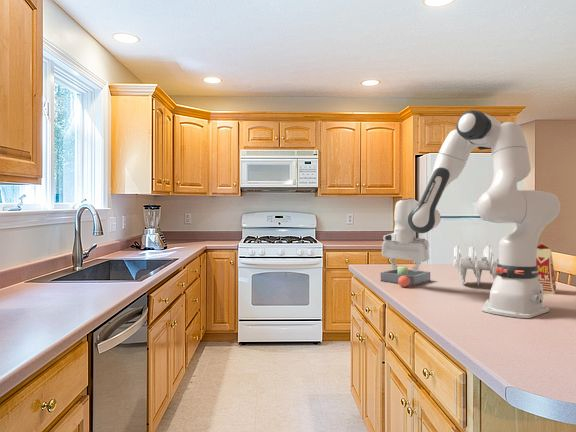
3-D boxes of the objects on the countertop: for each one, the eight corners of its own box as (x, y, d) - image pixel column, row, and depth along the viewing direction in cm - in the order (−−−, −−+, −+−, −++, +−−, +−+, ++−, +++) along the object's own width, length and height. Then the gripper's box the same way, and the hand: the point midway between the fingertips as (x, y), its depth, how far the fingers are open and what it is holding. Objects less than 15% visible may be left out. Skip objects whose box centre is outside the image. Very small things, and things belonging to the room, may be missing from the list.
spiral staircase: (518, 299, 168) (452, 292, 177) (512, 274, 183) (452, 268, 191) (525, 261, 160) (455, 255, 168) (518, 238, 175) (455, 234, 183)
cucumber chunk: (404, 280, 186) (404, 268, 186) (395, 278, 189) (395, 267, 189) (409, 278, 189) (409, 267, 189) (400, 277, 192) (400, 266, 192)
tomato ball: (406, 288, 170) (406, 276, 170) (395, 287, 173) (396, 275, 173) (412, 286, 174) (412, 275, 173) (401, 285, 177) (401, 274, 177)
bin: (414, 285, 176) (414, 276, 176) (380, 281, 187) (380, 272, 187) (430, 280, 187) (430, 271, 187) (398, 276, 198) (398, 268, 198)
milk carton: (554, 294, 159) (555, 242, 158) (526, 291, 165) (527, 240, 164) (556, 290, 166) (557, 240, 166) (530, 287, 172) (530, 239, 171)
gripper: (432, 238, 169) (431, 272, 169) (387, 235, 183) (387, 266, 184) (424, 239, 164) (424, 274, 165) (379, 236, 178) (379, 268, 179)
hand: (404, 269), depth 174 cm, fingers open, 8 cm apart
